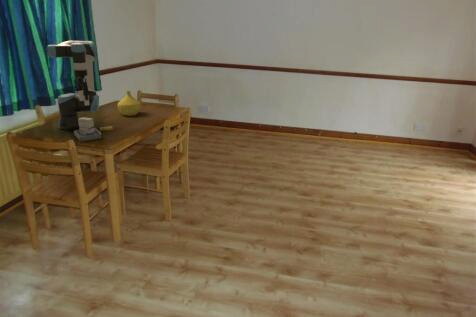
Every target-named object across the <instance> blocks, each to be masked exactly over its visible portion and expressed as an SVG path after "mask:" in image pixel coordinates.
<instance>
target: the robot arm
mask: <svg viewBox="0 0 476 317" xmlns="http://www.w3.org/2000/svg"><path fill="white" fill-rule="evenodd" d="M46 49H47V55H48V57H49V58H54V59H55V58H72V65H71V66H73V69H74V70H73V73H74V76H75V77H76V89H77V91H78V93H77V94H78V95H77V94H76V93H75V92H73V93H72V92H70V93H64V94H61V95H58V97H57V104H58V105H57V106H58V110H59V111H58V112H59V121H58V129H60V130H65V131H67V130H70V131H71V130H78V129H79V123H78V119H79V118H80V116H79V113H94V112H98V111H99V108H100V95H98V93H97V92H96V91H95V80H94V79H95V78H94V67H93V66H94V65H93V63H94V61H95V58H97V52H96V48H95V43H94V42H93V41H92V40H67V41H66V40H65V41H63V42H59V44H48V45H47V48H46Z"/></svg>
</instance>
